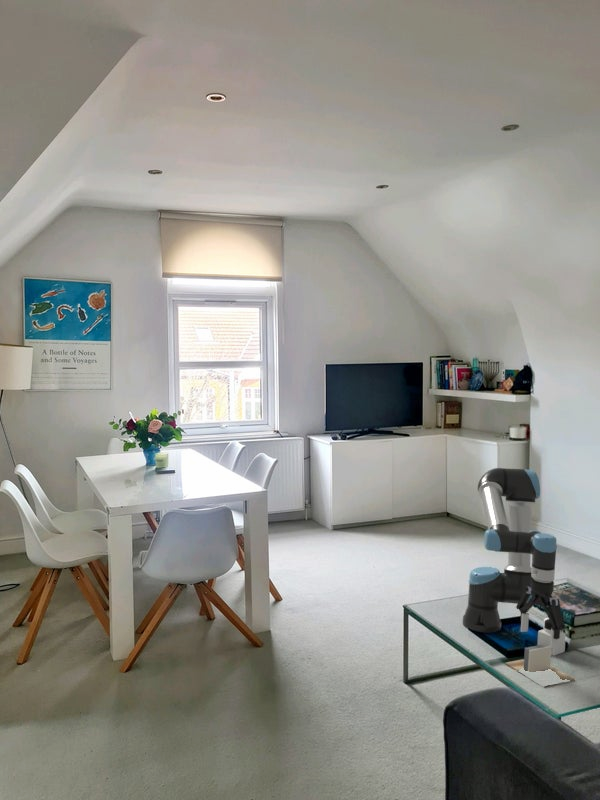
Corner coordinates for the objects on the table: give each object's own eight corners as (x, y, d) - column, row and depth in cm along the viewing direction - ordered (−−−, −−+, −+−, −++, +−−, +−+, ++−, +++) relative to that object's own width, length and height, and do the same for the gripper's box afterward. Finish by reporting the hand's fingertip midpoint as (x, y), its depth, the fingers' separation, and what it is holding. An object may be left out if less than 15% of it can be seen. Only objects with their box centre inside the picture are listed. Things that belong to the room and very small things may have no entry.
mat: (505, 664, 229) (505, 662, 229) (534, 658, 235) (534, 656, 235) (543, 687, 213) (543, 686, 213) (574, 680, 219) (574, 679, 219)
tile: (523, 670, 224) (524, 647, 224) (544, 666, 228) (546, 643, 228) (528, 673, 222) (529, 650, 221) (550, 669, 226) (551, 646, 226)
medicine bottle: (564, 652, 242) (566, 620, 241) (553, 656, 238) (555, 624, 237) (548, 645, 248) (549, 614, 247) (536, 649, 244) (538, 617, 243)
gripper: (508, 569, 233) (504, 626, 235) (562, 593, 211) (558, 656, 212) (524, 567, 236) (520, 623, 238) (579, 590, 214) (575, 652, 215)
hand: (538, 639), depth 225 cm, fingers open, 13 cm apart
